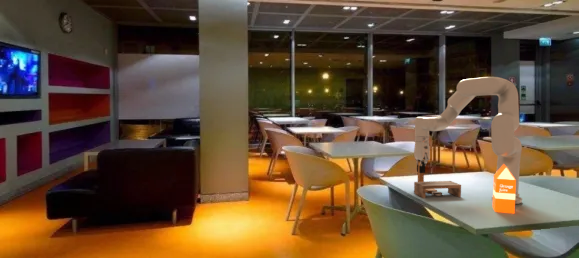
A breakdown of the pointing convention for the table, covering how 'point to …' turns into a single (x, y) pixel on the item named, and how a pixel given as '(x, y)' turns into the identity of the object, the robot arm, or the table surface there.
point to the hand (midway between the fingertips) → (420, 172)
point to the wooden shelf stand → (437, 187)
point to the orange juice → (504, 191)
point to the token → (436, 193)
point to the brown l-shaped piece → (421, 179)
